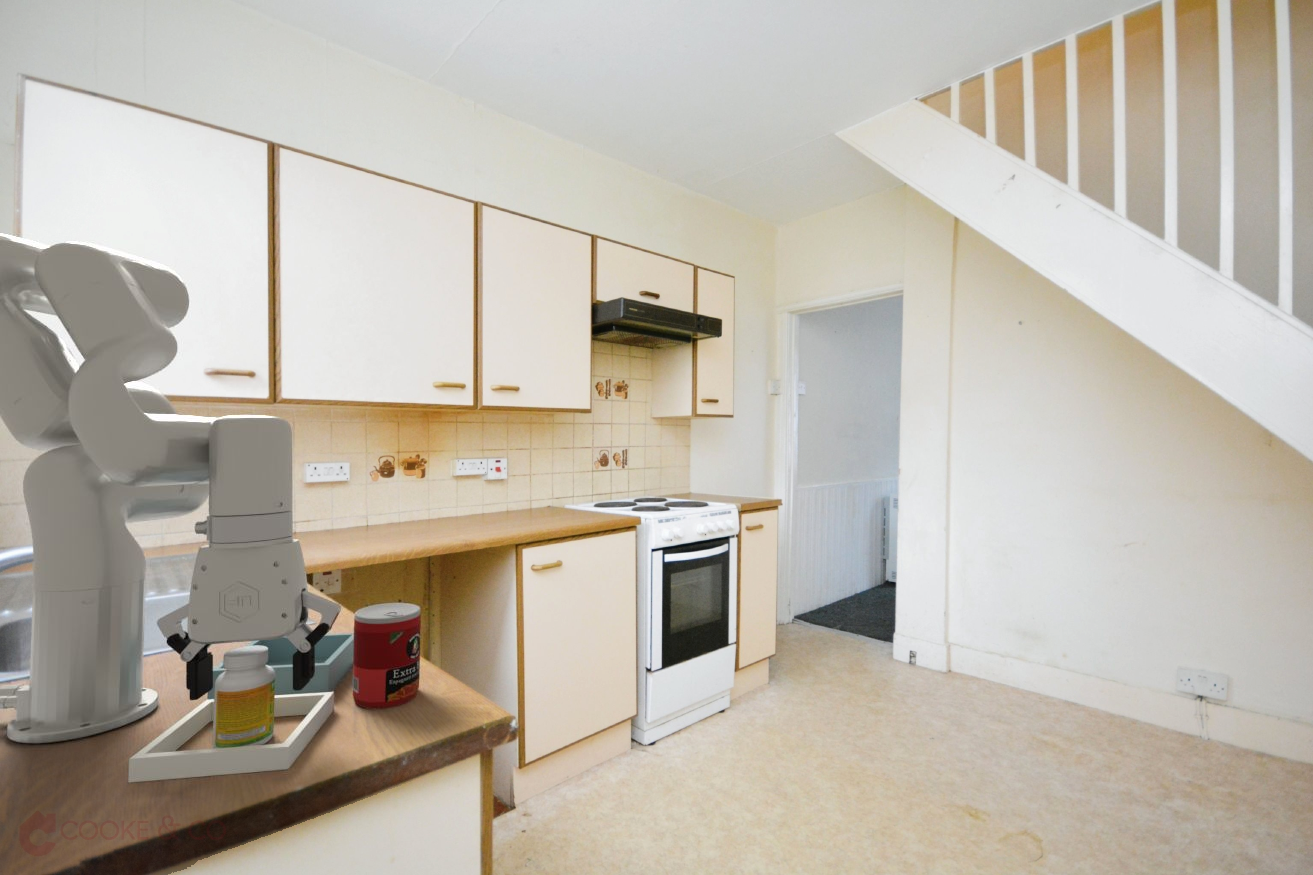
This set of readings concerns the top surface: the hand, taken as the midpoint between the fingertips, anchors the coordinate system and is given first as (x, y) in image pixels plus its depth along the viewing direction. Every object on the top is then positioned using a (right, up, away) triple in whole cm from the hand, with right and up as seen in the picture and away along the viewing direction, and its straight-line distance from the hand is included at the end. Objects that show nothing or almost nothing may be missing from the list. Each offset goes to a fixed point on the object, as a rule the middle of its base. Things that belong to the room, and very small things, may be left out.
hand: (252, 690), depth 64 cm
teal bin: (-7, -6, +17) cm, 19 cm away
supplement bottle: (-1, -6, 0) cm, 6 cm away
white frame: (-1, -6, 0) cm, 6 cm away
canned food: (+9, -6, +12) cm, 16 cm away
